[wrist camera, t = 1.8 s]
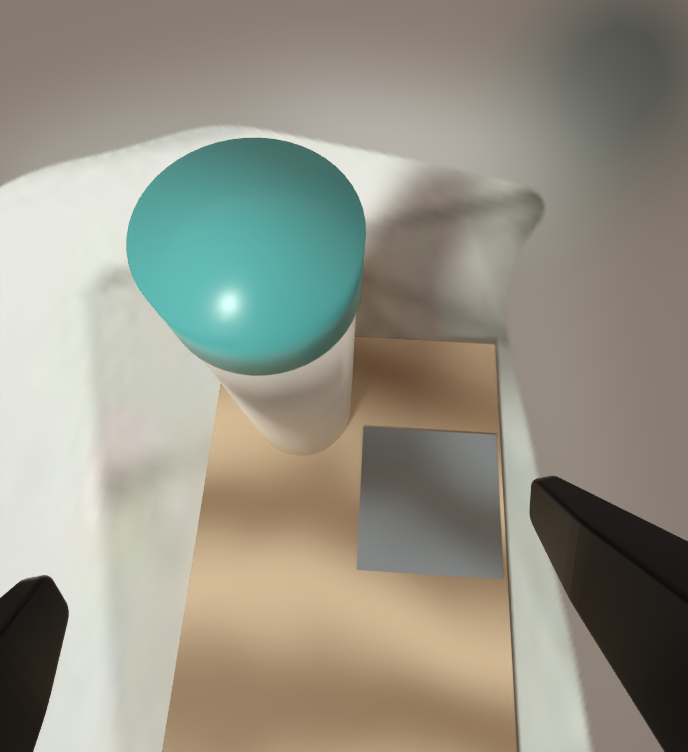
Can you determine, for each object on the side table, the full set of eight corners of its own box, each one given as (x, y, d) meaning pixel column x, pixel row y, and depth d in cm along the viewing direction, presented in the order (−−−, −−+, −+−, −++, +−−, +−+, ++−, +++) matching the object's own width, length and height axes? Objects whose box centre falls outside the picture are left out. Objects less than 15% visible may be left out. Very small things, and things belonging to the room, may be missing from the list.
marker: (325, 475, 20) (297, 378, 8) (234, 431, 21) (76, 278, 8) (368, 385, 21) (402, 184, 9) (282, 347, 22) (206, 110, 10)
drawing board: (514, 800, 17) (521, 811, 16) (163, 774, 17) (156, 784, 16) (491, 349, 23) (495, 343, 22) (232, 334, 23) (228, 328, 22)
